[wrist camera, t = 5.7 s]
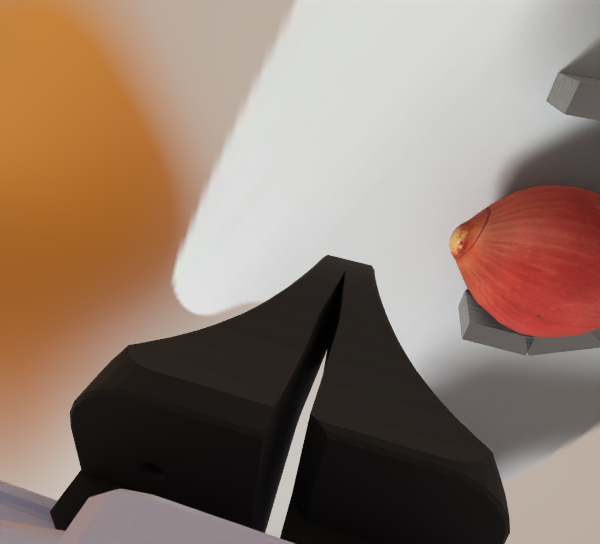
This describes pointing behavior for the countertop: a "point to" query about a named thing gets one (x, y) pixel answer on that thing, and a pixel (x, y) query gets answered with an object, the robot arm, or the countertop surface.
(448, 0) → the countertop surface
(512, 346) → the split collar
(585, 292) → the onion
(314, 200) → the countertop surface
